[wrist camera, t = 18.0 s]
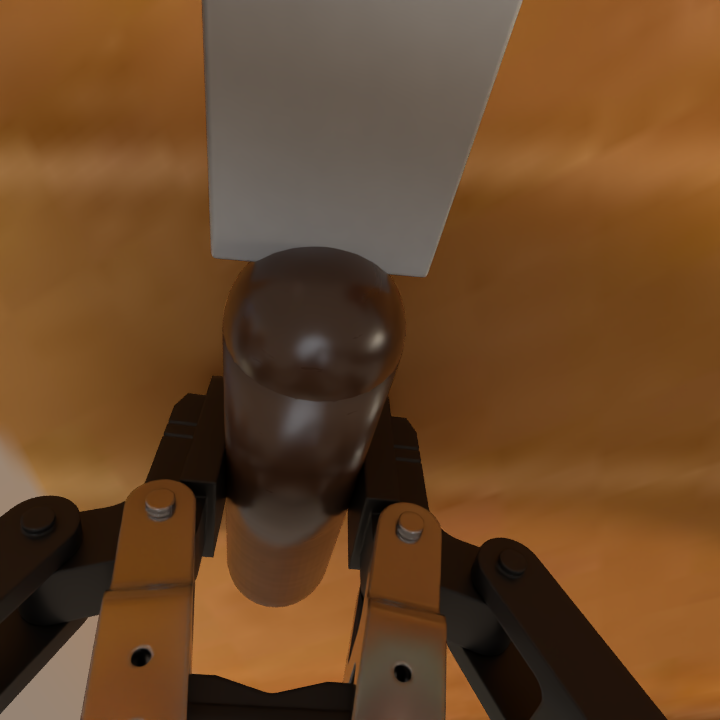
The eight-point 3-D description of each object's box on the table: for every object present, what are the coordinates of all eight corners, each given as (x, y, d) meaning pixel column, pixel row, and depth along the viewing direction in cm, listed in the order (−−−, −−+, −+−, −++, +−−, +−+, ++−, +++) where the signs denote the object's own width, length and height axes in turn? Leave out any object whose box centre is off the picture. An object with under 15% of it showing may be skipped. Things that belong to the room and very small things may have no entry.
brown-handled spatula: (328, 526, 20) (329, 620, 18) (225, 524, 19) (215, 620, 17) (629, -450, 5) (840, -516, 3) (200, -590, 4) (107, -793, 2)
